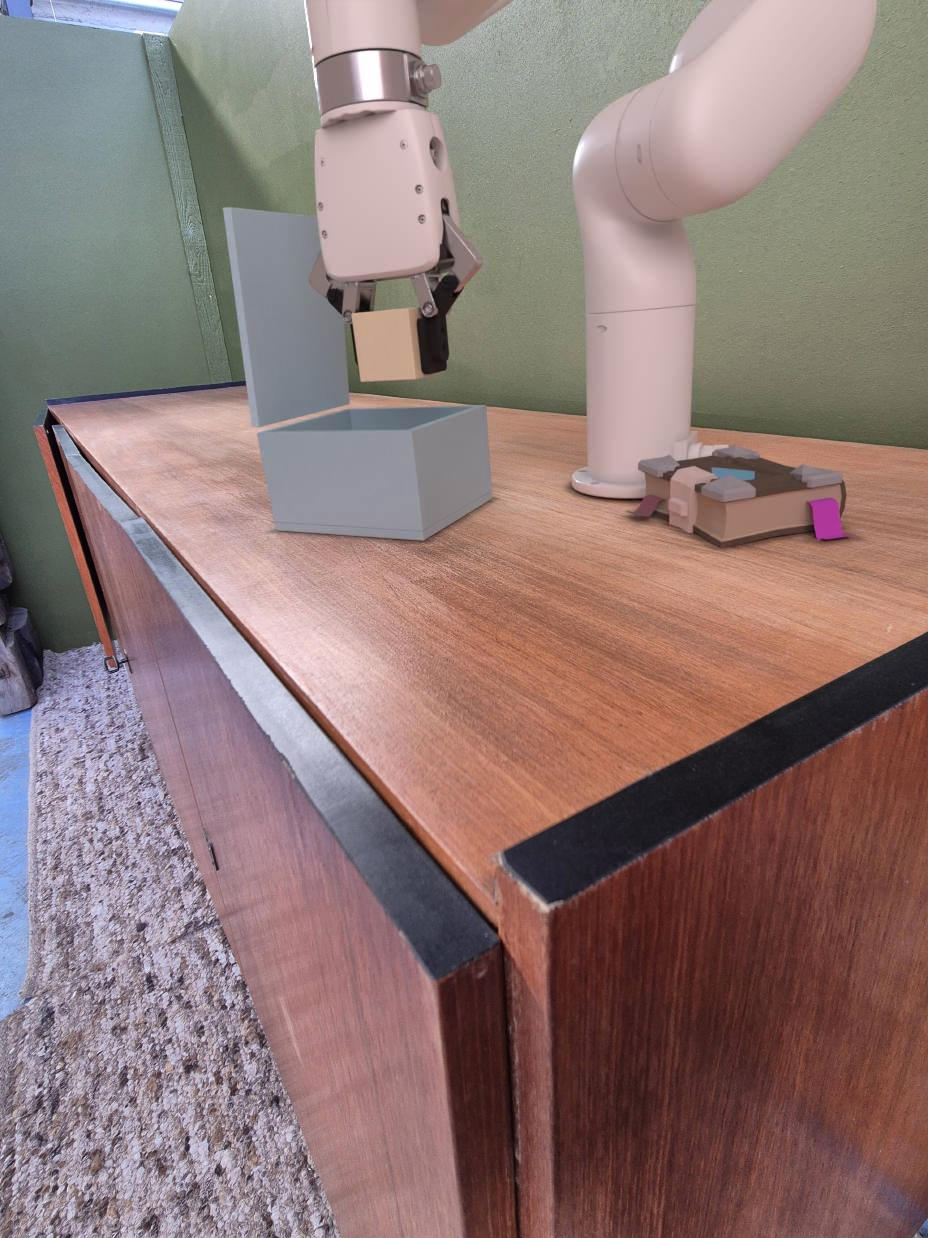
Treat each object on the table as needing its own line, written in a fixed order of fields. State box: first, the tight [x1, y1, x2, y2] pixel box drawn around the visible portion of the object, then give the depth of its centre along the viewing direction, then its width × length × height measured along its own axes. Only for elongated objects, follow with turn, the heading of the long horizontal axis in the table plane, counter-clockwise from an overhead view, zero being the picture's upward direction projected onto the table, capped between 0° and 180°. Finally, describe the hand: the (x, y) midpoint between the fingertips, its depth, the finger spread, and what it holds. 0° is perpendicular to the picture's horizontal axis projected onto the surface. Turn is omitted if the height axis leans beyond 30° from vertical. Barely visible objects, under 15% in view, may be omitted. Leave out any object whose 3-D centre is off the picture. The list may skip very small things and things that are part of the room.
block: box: [352, 306, 445, 383], centre depth 56 cm, size 5×5×5 cm
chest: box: [256, 404, 493, 542], centre depth 65 cm, size 16×14×9 cm
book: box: [625, 444, 853, 550], centre depth 57 cm, size 20×12×5 cm, turn 16°
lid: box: [222, 206, 351, 428], centre depth 64 cm, size 16×14×5 cm
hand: (402, 371), depth 57 cm, fingers closed on block, 5 cm apart
